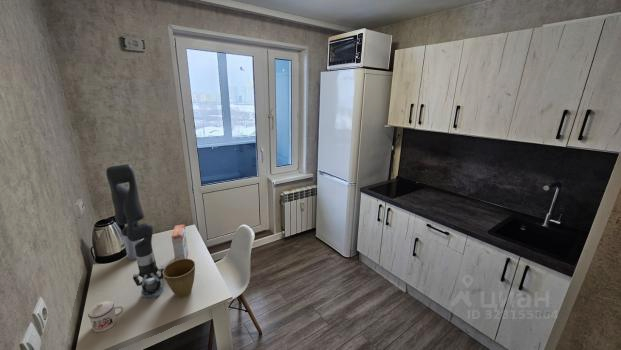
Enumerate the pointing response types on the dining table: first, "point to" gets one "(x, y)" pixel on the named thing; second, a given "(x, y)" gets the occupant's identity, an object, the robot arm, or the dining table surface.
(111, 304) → the teacup with lid
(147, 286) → the cap
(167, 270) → the plant pot
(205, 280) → the dining table surface
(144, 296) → the faceted grey ring
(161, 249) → the dining table surface
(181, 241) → the cracker box
